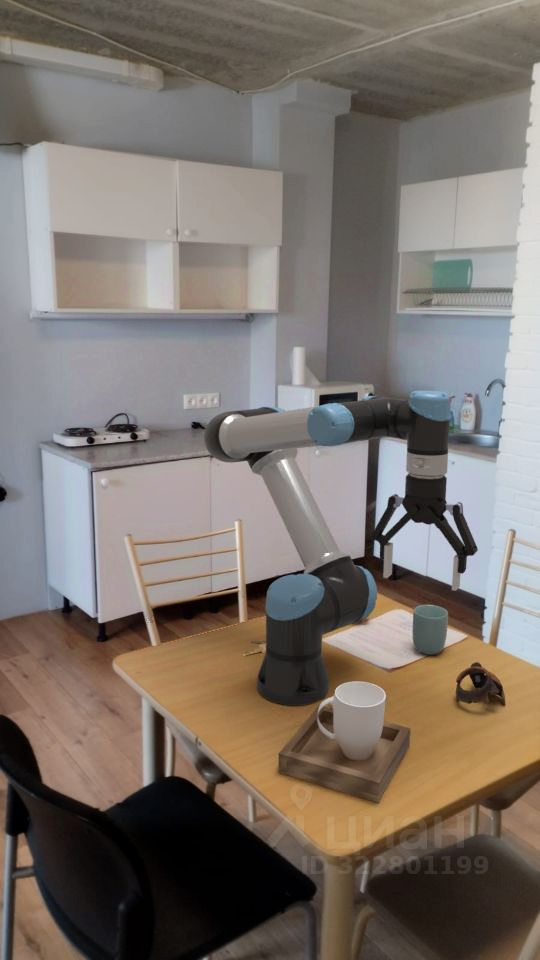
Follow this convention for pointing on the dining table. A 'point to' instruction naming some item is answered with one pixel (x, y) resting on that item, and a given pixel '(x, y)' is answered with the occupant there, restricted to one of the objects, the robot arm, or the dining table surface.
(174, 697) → the dining table surface
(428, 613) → the cup
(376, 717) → the mug
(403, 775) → the dining table surface
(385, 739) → the tray
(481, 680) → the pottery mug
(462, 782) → the dining table surface
